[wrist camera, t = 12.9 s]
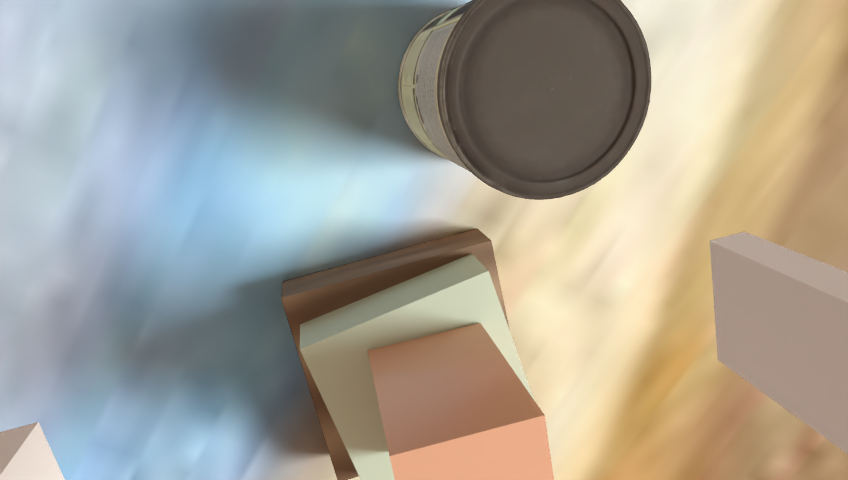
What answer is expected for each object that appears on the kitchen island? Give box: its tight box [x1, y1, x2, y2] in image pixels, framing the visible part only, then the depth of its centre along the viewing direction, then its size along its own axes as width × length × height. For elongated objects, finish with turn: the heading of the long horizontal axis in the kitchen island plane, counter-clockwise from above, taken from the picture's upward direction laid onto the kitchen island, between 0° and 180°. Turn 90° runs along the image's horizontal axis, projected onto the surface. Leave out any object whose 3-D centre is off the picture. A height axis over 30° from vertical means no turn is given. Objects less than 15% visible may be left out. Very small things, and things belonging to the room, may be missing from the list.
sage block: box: [300, 254, 534, 480], centre depth 41 cm, size 12×12×4 cm
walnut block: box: [281, 229, 509, 480], centre depth 45 cm, size 14×14×4 cm
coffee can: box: [398, 0, 651, 200], centre depth 36 cm, size 10×10×14 cm
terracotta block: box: [367, 323, 554, 480], centre depth 34 cm, size 7×7×11 cm
